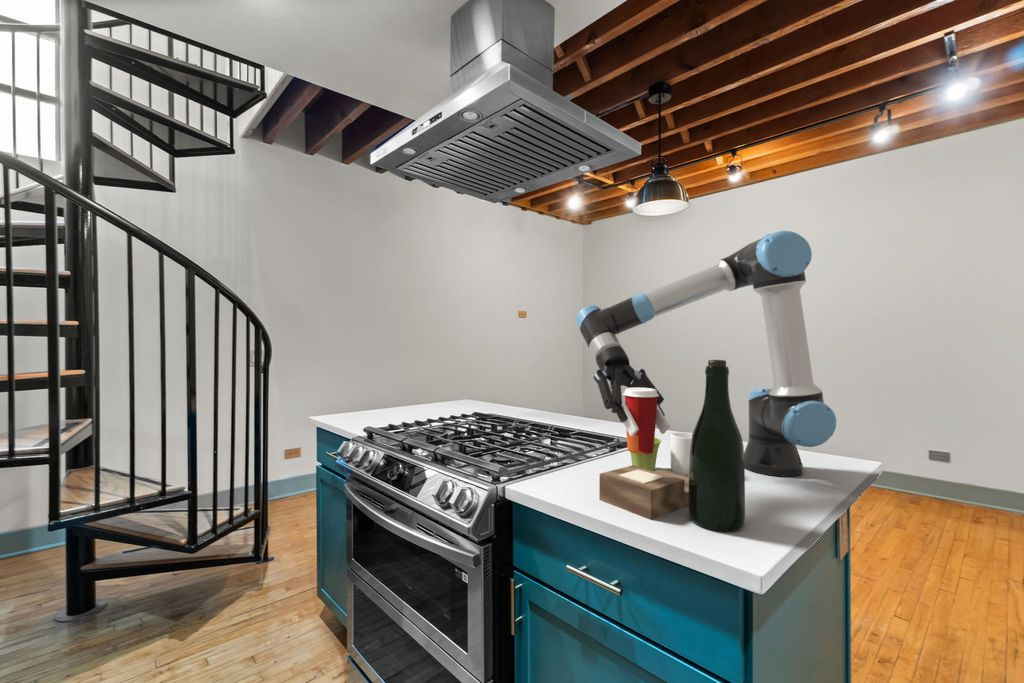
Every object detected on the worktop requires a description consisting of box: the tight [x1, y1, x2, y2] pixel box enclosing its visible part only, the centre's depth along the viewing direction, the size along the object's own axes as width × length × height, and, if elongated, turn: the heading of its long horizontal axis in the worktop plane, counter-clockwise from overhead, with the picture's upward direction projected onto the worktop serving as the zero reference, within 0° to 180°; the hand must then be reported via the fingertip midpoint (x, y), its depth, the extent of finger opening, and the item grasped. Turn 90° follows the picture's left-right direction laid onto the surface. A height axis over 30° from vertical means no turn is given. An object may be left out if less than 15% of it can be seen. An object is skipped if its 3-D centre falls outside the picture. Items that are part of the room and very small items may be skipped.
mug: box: [670, 431, 693, 476], centre depth 123 cm, size 12×8×10 cm
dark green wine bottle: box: [687, 359, 746, 532], centre depth 90 cm, size 10×10×33 cm
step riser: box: [598, 464, 689, 520], centre depth 104 cm, size 24×14×6 cm, turn 126°
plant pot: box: [630, 437, 662, 471], centre depth 126 cm, size 9×9×9 cm
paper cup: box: [622, 387, 659, 454], centre depth 100 cm, size 8×8×14 cm
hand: (650, 431), depth 97 cm, fingers closed on paper cup, 8 cm apart
